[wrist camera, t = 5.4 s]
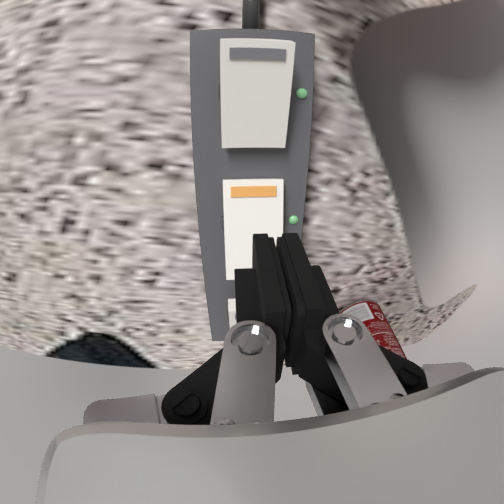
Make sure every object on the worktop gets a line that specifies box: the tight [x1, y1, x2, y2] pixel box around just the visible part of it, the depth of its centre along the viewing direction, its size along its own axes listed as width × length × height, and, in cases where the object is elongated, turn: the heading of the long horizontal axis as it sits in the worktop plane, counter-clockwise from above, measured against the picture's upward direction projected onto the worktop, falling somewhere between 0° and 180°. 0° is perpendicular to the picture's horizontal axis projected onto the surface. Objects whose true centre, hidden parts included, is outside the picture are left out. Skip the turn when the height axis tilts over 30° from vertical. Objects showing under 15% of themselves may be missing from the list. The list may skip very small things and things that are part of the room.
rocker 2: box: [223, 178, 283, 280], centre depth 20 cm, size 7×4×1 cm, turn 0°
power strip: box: [190, 0, 315, 341], centre depth 21 cm, size 34×8×5 cm, turn 179°
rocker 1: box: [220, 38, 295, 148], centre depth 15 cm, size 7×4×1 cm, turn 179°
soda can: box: [339, 300, 407, 359], centre depth 29 cm, size 7×7×12 cm
